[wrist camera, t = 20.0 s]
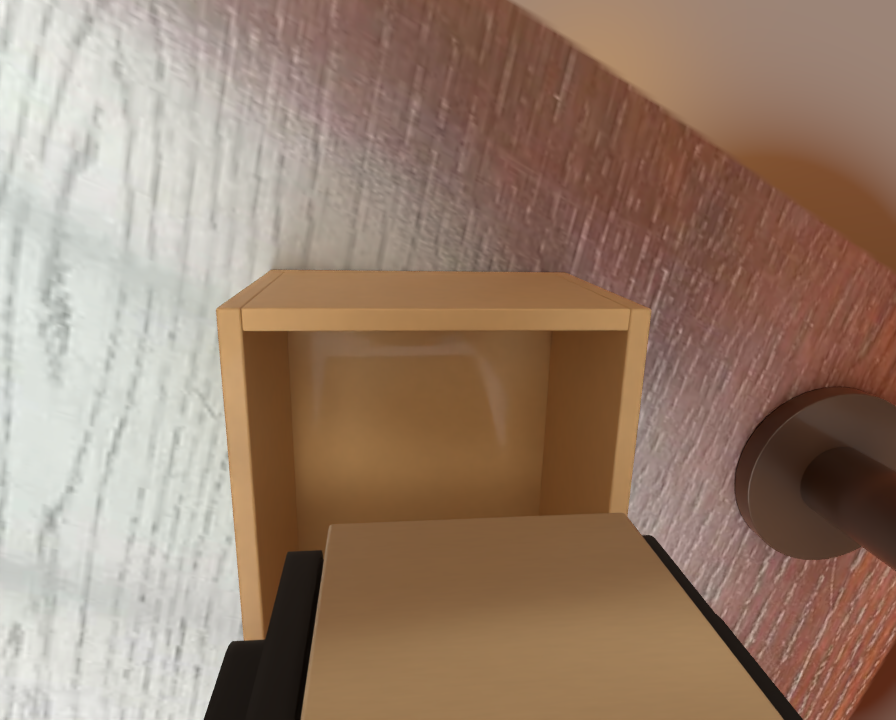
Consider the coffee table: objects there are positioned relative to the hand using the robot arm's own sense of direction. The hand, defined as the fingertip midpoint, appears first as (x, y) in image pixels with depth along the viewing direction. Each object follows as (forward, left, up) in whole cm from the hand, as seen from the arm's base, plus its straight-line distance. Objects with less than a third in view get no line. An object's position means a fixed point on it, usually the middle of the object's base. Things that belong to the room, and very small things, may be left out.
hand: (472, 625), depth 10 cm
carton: (+2, +1, -14) cm, 14 cm away
